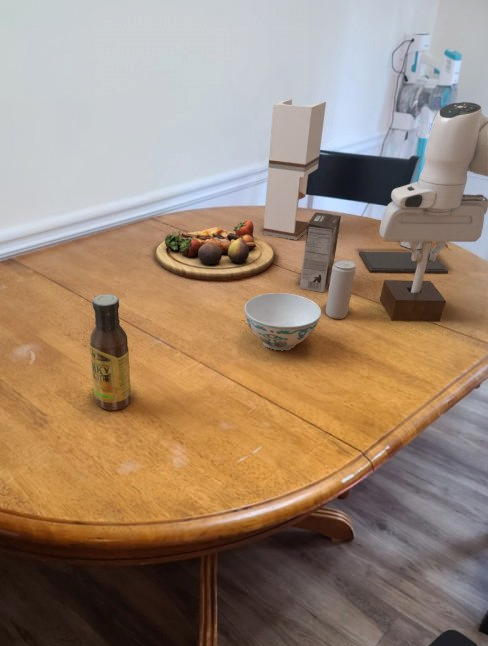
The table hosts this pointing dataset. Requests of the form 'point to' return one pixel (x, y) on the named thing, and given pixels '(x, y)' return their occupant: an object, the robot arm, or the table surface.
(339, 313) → the beverage can
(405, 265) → the tablet
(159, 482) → the table surface
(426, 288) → the stand
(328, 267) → the coffee box
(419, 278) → the stylus
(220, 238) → the wooden plate
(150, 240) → the table surface
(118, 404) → the sauce bottle
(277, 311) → the chinaware
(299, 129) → the coffee grinder
